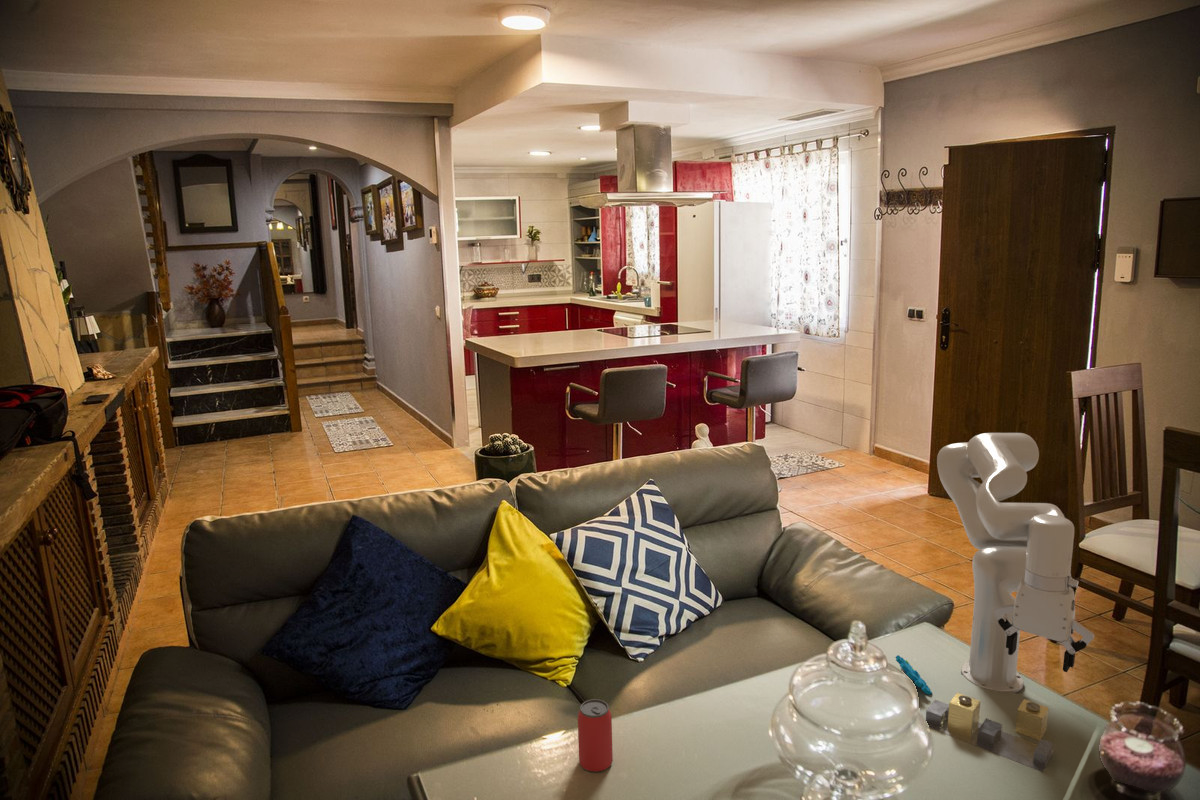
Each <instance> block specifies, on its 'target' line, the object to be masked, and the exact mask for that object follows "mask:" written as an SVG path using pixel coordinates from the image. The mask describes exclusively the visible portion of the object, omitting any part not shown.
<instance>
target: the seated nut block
mask: <svg viewBox="0 0 1200 800" xmlns="http://www.w3.org/2000/svg"><path fill="white" fill-rule="evenodd" d="M948 704H949V715H948V728H947V729H949V730H951V731H954V732H956V733H959V734H962V735H964V736H967V737H969V738H971V737H972V736H973V734H974V733H975V731H976V730H977V728H978V724H979V723H980V722H979V720H980V710H981V709H980V708H981V700H979V699H976V698H973V697H970V696H968V695H965V694H962V693H961V692H956V693H955V695H953V697H952V699H951V700H950V701H949V703H948Z"/></svg>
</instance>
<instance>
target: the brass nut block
mask: <svg viewBox="0 0 1200 800" xmlns="http://www.w3.org/2000/svg"><path fill="white" fill-rule="evenodd" d="M1049 709H1050V708H1049V706H1044V705H1042V704H1039V703H1037V702H1034V701H1030V700H1027V699H1023V700H1022V701H1021V702H1020V704H1019V706H1018V708H1017V712H1016V722H1015V732H1016V733H1019V734H1021V735H1024V736H1026V737H1030V738H1032V739H1036V740H1038V741H1040V740H1041V739H1043V737H1044V735H1045V733H1046V732H1047V726H1048V718H1049Z"/></svg>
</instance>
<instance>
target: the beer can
mask: <svg viewBox="0 0 1200 800" xmlns="http://www.w3.org/2000/svg"><path fill="white" fill-rule="evenodd" d="M612 721H613V719H612V713H611V710H610V706H609V704H608V703H607V702H606V701H605V700H602V699H598V698H597V699H596V698H595V699H594V698H593V699H588V700H585V701H584V702H583V703H581V705H580V706H579V711H578V714H577V735H578V738H577V739H578V742H577V743H578V761H579V765H580V766H581V768H583V769H584V770H586V771H588V772H592V773H593V772H594V773H595V772H596V773H597V772H604V771H605V770H607V769H609V767H610V766H611V765H612V763H613V759H614V758H613V755H614V754H613V722H612Z"/></svg>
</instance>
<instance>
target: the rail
mask: <svg viewBox="0 0 1200 800" xmlns="http://www.w3.org/2000/svg"><path fill="white" fill-rule="evenodd" d="M948 715H949V703H946V702H943V701H940V700H937V699H934V700H933V702H932V703H931V704H930V705H929V706H928V708H926V711H925V721H927V723H928V725H929V727H930V728H929V727H928V728H929V729H932V730H934V731H938V732H939V733H942V734H946V735H948V736H950V737H952V738H954V739H958V740H959V741H962V742H966V743H968V744H970V745H973V746H974V747H975V746H976V747H978V748H981V749H983V750H985V751H989V752H991V753H993V754H996V755H998V756H1001V757H1002V758H1006V759H1008V760H1011V761H1013V762H1016V763H1019V764H1021V765H1024V766H1027V767H1029V768H1032V769H1033V770H1035V771H1036V770H1037V771H1039V772H1042V773H1044V771H1045V769H1046V767H1047V765H1048V763H1049V761H1050V759H1051V757H1052V755H1053V753H1054V750H1053V748H1054V747H1053V745H1054V742H1052V741H1049V740H1046V739H1044V738H1042V739H1041V740H1039V743H1038V744H1037V743H1034V742H1032V741H1029V740H1026V739H1024V738H1022V737H1018V736H1015V735H1014V734H1010V733H1007V732H1006V731H1003V724H1002V723H1001V722H997V721H995V720H992V719H988V718H985V719H984V721H983V722H982V723H981V722H979V724H978V728H977V730H976V731H975V733H974V734H973V736H972V737H971V738H969V737H967V736H964V735H962V734H959V733H956V732H954V731H951V730H949V729H947V728H948Z"/></svg>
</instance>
